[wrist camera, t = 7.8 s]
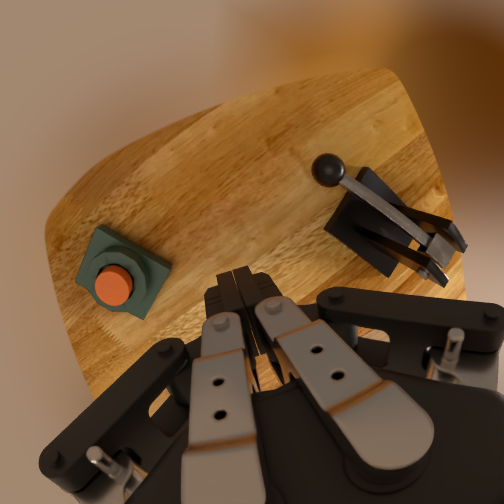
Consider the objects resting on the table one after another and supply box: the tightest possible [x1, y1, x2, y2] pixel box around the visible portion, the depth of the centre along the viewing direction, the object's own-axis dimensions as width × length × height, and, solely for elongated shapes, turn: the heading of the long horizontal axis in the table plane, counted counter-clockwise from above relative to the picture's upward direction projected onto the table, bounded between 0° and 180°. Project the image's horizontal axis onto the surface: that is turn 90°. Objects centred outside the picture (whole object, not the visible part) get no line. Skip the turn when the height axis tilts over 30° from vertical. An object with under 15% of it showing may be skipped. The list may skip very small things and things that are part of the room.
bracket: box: [324, 167, 468, 288], centre depth 26 cm, size 12×9×13 cm
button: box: [95, 265, 133, 306], centre depth 24 cm, size 4×4×2 cm
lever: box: [311, 153, 456, 269], centre depth 23 cm, size 16×3×3 cm, turn 57°
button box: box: [75, 224, 172, 320], centre depth 27 cm, size 9×7×4 cm
